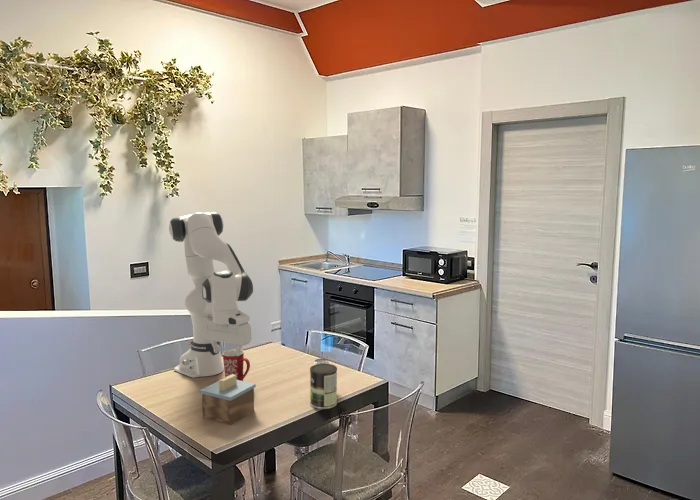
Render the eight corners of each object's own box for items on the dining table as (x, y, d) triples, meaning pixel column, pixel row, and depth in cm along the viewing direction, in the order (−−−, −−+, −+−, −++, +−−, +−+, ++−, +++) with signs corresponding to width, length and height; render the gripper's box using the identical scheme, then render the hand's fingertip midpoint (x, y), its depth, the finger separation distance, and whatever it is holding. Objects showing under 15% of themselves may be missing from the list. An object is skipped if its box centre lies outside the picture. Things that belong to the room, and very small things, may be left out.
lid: (199, 395, 188) (199, 380, 187) (226, 383, 200) (225, 368, 200) (230, 403, 182) (230, 387, 181) (255, 389, 194) (255, 374, 193)
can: (327, 392, 212) (327, 363, 210) (312, 391, 213) (311, 362, 211) (331, 386, 218) (331, 358, 216) (316, 385, 219) (316, 357, 218)
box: (202, 417, 189) (201, 393, 188) (226, 403, 201) (226, 381, 200) (230, 424, 183) (230, 399, 182) (254, 410, 195) (253, 387, 194)
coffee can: (310, 409, 196) (310, 373, 194) (310, 398, 206) (309, 363, 204) (338, 408, 196) (337, 372, 195) (336, 397, 207) (336, 363, 205)
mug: (218, 384, 220) (217, 353, 218) (233, 378, 228) (232, 347, 226) (241, 390, 213) (240, 358, 212) (256, 383, 221) (255, 352, 220)
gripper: (197, 315, 189) (199, 352, 191) (241, 321, 180) (243, 360, 182) (209, 311, 195) (211, 347, 197) (253, 317, 186) (255, 355, 187)
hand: (227, 353), depth 189 cm, fingers open, 8 cm apart
